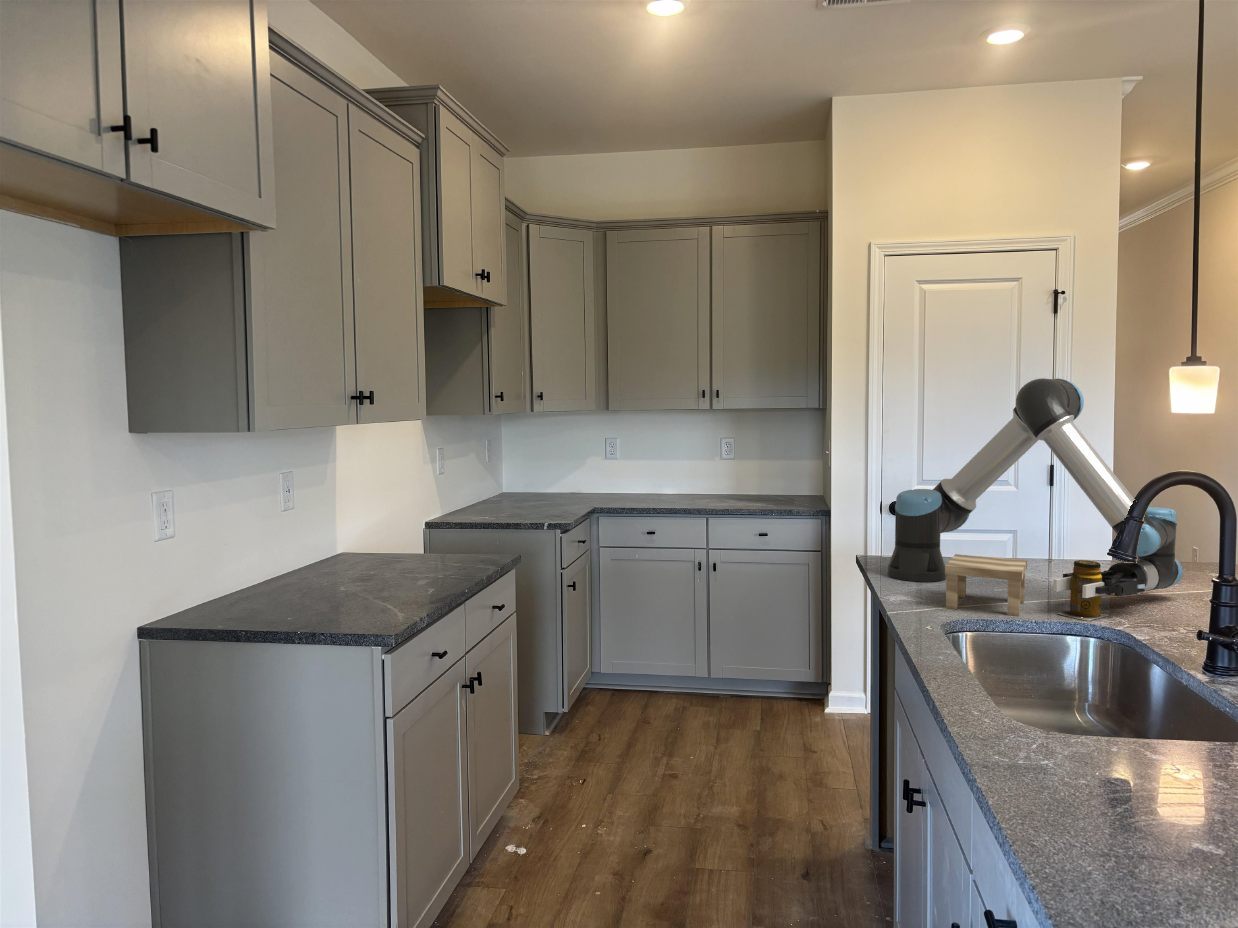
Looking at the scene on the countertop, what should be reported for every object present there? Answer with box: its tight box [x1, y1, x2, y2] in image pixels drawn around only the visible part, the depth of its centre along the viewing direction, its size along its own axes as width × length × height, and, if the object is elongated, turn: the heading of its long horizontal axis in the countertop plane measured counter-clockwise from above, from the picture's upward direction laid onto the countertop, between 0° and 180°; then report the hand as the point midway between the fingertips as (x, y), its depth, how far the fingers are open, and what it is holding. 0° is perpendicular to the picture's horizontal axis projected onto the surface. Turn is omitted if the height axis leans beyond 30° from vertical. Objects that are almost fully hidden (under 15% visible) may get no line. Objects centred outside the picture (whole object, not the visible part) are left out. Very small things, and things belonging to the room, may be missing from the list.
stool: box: [945, 553, 1028, 617], centre depth 195 cm, size 16×16×10 cm
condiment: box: [1056, 559, 1109, 622], centre depth 185 cm, size 7×8×12 cm
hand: (1069, 588), depth 183 cm, fingers closed on condiment, 6 cm apart
